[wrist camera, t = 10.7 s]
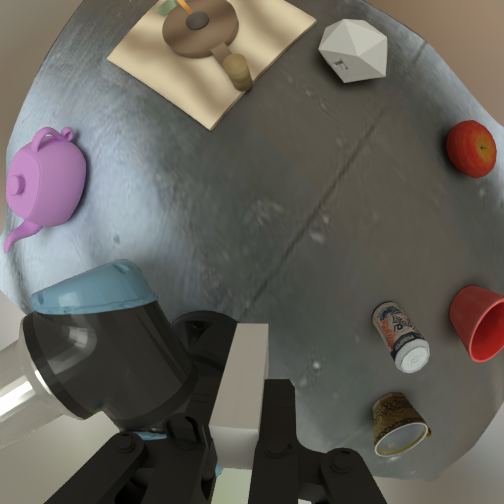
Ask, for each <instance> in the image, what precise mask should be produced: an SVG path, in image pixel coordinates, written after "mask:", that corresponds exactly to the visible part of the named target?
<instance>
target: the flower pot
mask: <svg viewBox="0 0 504 504" xmlns="http://www.w3.org/2000/svg"><path fill="white" fill-rule="evenodd" d="M449 316H450V320H451V322H452V324H453V326H454V328H455V330H456V331H457V333H458V335H459V337H460V339H461V341H462V343H463V345H464V346H465V348H466V350H467V352H468V354H469V356H470V357H471V359H472V360H474V361H476V362H484V361H487V360H489V359H490V358H492V357H494V356H495V355H496V354H497V353H498V352H499V351H500V350H501V349H502V348H503V347H504V296H502V295H500V294H497V293H495V292H492V291H489V290H487V289H484V288H480V287H477V286H474V285H470V286H467V287H465V288H463V289H462V290H461V291H459V292H458V294H457V295H456V296H455V298H454V299H453V301H452V304H451V307H450V312H449Z"/></svg>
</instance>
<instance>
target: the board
mask: <svg viewBox="0 0 504 504" xmlns="http://www.w3.org/2000/svg"><path fill="white" fill-rule="evenodd" d="M184 1H186V0H184ZM227 1H228V2H229V3H231V4H232V6H233V7H234V9H235V11H236V15H237V18H238V21H239V29H238V33H237V35H236V37H235V39H234V40H233V41H232V42H231V44H229V45H228V46H227V47H228V48H229V49H230V51H231V52H232V53H233V54H234V53H237V54H241V55H243V56H244V57H245V59H246V61H247V65H248V68H249V71H250V74H251V78H252V81H253V84H254V83H255V82H256V81H257V80H258V79H259V77H260V76H261V75H262V74H263V73H264V72H265V71H266V70H267V69H268V68H269V67H270V66H271V65H272V64H273V63H274V62H275V61H276V60H277V59H278V58H279V57H280V56H281V55H283V54H284V53H285V52H286V51H287V50H288V49H289V48H290V47H291V46H292V45H293V44H294V43H295V42H296V41H297V40H299V39H300V38H301V37H302V36H303V35H304V34H305V33H306V32H307V31H309V30H310V29H311V28H312V27H313V26H314V25H315V24H316V22H317V20H316V19H314V18H313V17H311V16H310V15H308V14H306V13H305V12H303V11H301V10H300V9H298V8H296V7H295V6H293V5H291V4H289V3H287V2H286V1H284V0H227ZM178 5H179V3H178V1H177V0H159V1H158V2H157V3H156V4H155V5H154V6H153V7H152V8H151V9H150V10H149V11H148V12H147V13H146V14H145V15H144V16H143V17H142V18H141V19H140V20H139V21H138V23H137V24H136V25H135V26H134V27H133V28H132V29H131V30H130V31H129V33H128V34H127V35H126V36H125V37H124V38H123V40H122V41H121V42H120V43H119V44H118V46H117V47H116V48H115V49H114V50H113V52H112V53H111V54H110V56H109V57H108V58H107V60H109V61H111V62H112V63H114V64H116V65H117V66H119V67H120V68H122V69H123V70H125V71H127V72H128V73H130V74H131V75H133V76H134V77H136V78H137V79H139V80H140V81H142V82H143V83H145V84H146V85H148V86H149V87H151V88H152V89H154V90H155V91H156V92H158V93H159V94H161V95H162V96H164V97H165V98H167V99H168V100H169V101H171V102H172V103H174V104H175V105H176V106H178V107H179V108H181V109H182V110H183V111H185V112H186V113H187V114H189V115H190V116H192V117H193V118H194V119H196V120H197V121H198V122H200V123H201V124H202V125H204V126H205V127H206V128H208V129H209V130H210V131H212V130H213V129H214V128H215V126H216V125H217V124H218V123H219V122H220V121H221V119H222V118H223V117H224V116H225V115H226V114H227V112H228V111H229V110H230V109H231V108H232V107H233V106H234V104H235V103H236V102H237V101H238V100H239V99H240V98H241V97H242V96H243V94H244V93H245V92H246V91H238V90H236V89H235V87H234V85H233V84H232V82H231V80H230V78H229V76H228V75H227V73H226V72H225V70H224V69H223V68H222V66H221V65H220V64H219V62H218V61H217V59H216V58H215V57H214V55H211V56H208V57H204V58H187V57H183V56H181V55H179V54H177V53H176V52H175V51H173V49H172V48H171V47H170V46H169V45H168V44H167V43H166V42H165V40H164V38H163V35H162V27H163V23H164V21H165V19H166V17H167V16H168V14H169V13H170V12H171V11H172V10H173V9H174V8H175V7H176V6H178ZM253 84H252V85H253Z"/></svg>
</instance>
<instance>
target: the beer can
mask: <svg viewBox="0 0 504 504" xmlns="http://www.w3.org/2000/svg"><path fill="white" fill-rule="evenodd" d="M373 324H374V326H375V327H376V328H377V330H378V332H379V334H380V336H381V337H382V339H383V341H384V343H385V345H386V347H387V348H388V350H389V352H390V354H391V356H392V358H393V360H394V361H395V364H396V367H397V368H398V369H399V370H401V371H404V372H407V373H413V372H415V371H418V370H420V369H421V368H422V367H423V366H424V365H425V364H426V363H427V361H428V358H429V355H430V354H429V345H428V343H427V342H426V340H425V339H424V338H423V336H422V335H421V334H420V332H419V331H418V330H417V329H416V327H415V326H414V325H413V323H412V322H411V321H410V320H409V318H408V317H407V316H406V315H405V313H404V312H403V311H402V310H401V308H400V307H399V306H398V305H397V304H396V303H393V302H387V303H384V304H382V305H381V306H379V307H378V308H377V309H376V311H375V312H374V314H373Z"/></svg>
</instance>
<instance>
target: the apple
mask: <svg viewBox="0 0 504 504" xmlns="http://www.w3.org/2000/svg"><path fill="white" fill-rule="evenodd" d="M446 149H447V153H448V156H449V158H450V160H451V162H452V163H453V164H454V165H455V166H456V167H457V168H458V169H459V170H460V171H461V172H463V173H465V174H466V175H469V176H471V177H473V178H479V177H483V176H485V175H487V174H488V173H489V172H490V171H491V170H492V169H493V168H494V165H495V162H496V153H497V150H496V144H495V142H494V139H493V137H492V135H491V133H490V132H489V131H488V130H487V128H486V127H485V126H483V125H481V124H480V123H478V122H476V121H474V120H469V121H463V122H460V123H459V124H457V125H456V126H454V127H453V128H452V129H451V131H450V133H449V135H448V137H447V143H446Z"/></svg>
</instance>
